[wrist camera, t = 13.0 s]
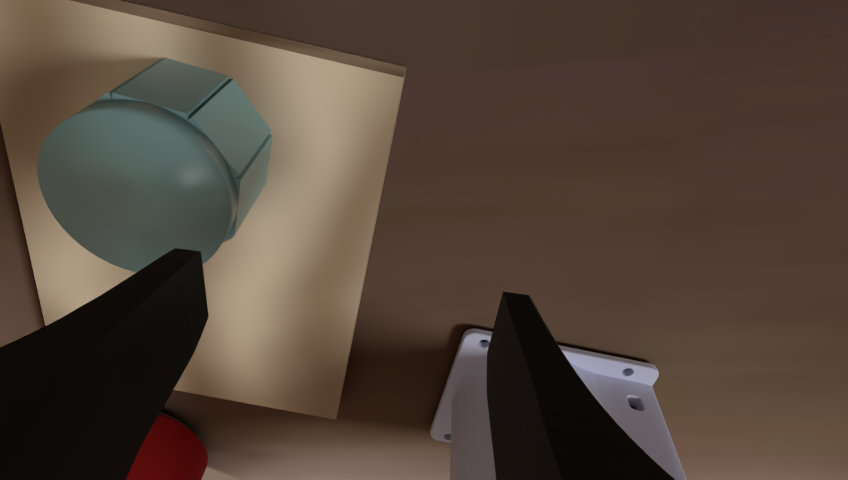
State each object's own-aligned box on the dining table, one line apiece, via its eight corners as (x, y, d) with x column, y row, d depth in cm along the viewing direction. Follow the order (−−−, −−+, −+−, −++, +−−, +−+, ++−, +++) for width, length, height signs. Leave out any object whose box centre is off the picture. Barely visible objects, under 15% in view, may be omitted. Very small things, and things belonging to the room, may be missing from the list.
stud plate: (406, 66, 20) (394, 109, 16) (340, 401, 30) (324, 472, 26) (-6, -29, 19) (-114, -6, 15) (68, 350, 29) (14, 417, 25)
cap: (299, 168, 21) (264, 234, 17) (189, 226, 22) (134, 298, 19) (199, 33, 18) (132, 75, 14) (83, 109, 20) (-4, 165, 16)
